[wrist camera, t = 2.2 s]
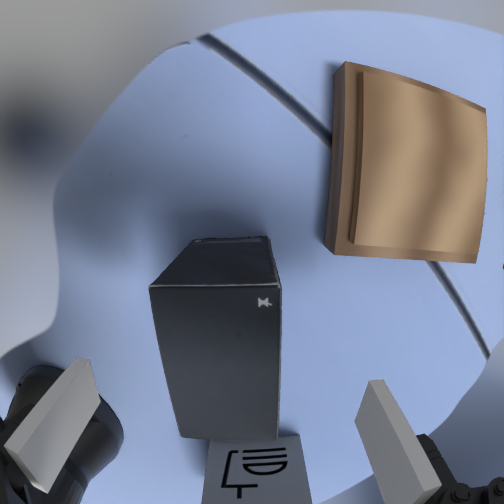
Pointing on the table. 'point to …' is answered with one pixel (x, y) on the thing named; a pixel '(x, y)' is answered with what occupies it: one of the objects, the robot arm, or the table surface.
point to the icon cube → (256, 472)
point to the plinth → (404, 169)
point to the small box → (221, 338)
